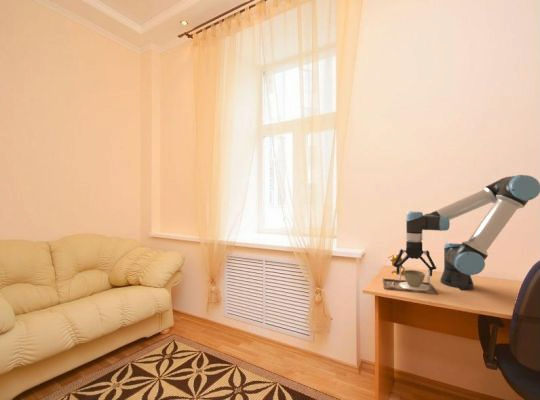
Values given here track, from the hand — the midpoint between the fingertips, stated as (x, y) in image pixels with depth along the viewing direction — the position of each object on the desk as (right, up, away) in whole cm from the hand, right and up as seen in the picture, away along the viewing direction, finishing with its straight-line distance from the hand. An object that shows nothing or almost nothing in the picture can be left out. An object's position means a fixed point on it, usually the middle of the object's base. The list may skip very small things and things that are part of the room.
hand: (414, 280), depth 147 cm
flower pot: (0, -3, 0) cm, 3 cm away
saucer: (0, -3, 0) cm, 3 cm away
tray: (-3, -4, +1) cm, 5 cm away
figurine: (+5, -4, +28) cm, 29 cm away
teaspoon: (-9, -3, +4) cm, 11 cm away
